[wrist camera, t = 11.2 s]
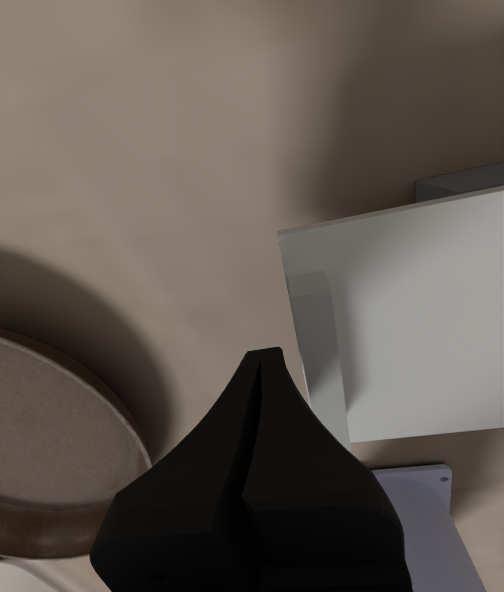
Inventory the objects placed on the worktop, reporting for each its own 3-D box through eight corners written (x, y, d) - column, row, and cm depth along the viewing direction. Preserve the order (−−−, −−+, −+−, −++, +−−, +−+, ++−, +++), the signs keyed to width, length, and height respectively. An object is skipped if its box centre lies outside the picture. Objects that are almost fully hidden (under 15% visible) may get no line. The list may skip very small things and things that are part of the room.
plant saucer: (101, 266, 16) (63, 293, 13) (201, 509, 25) (191, 559, 22) (-211, 318, 19) (-301, 350, 16) (-25, 521, 28) (-61, 566, 25)
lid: (537, 412, 14) (581, 457, 12) (315, 434, 15) (322, 479, 13) (589, 168, 9) (672, 174, 8) (277, 231, 11) (278, 250, 9)
